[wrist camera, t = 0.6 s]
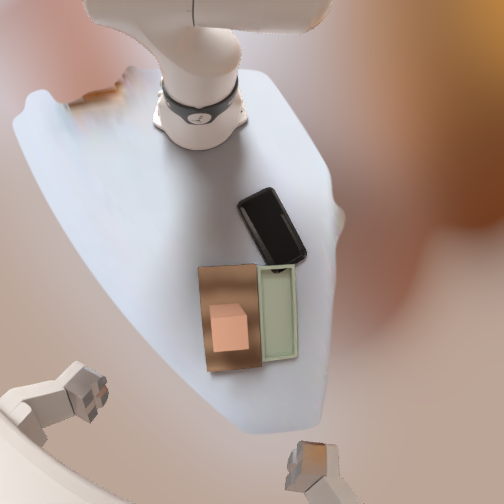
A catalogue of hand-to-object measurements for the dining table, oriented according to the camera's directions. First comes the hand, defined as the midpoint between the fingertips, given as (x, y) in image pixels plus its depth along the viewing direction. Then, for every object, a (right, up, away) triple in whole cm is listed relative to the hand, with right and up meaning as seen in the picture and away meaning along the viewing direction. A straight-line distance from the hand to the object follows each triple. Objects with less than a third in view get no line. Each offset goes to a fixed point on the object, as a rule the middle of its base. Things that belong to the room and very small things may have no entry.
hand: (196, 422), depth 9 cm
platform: (-2, -5, +41) cm, 42 cm away
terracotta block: (-3, -5, +38) cm, 39 cm away
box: (+7, -5, +43) cm, 44 cm away
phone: (+6, +11, +44) cm, 45 cm away
